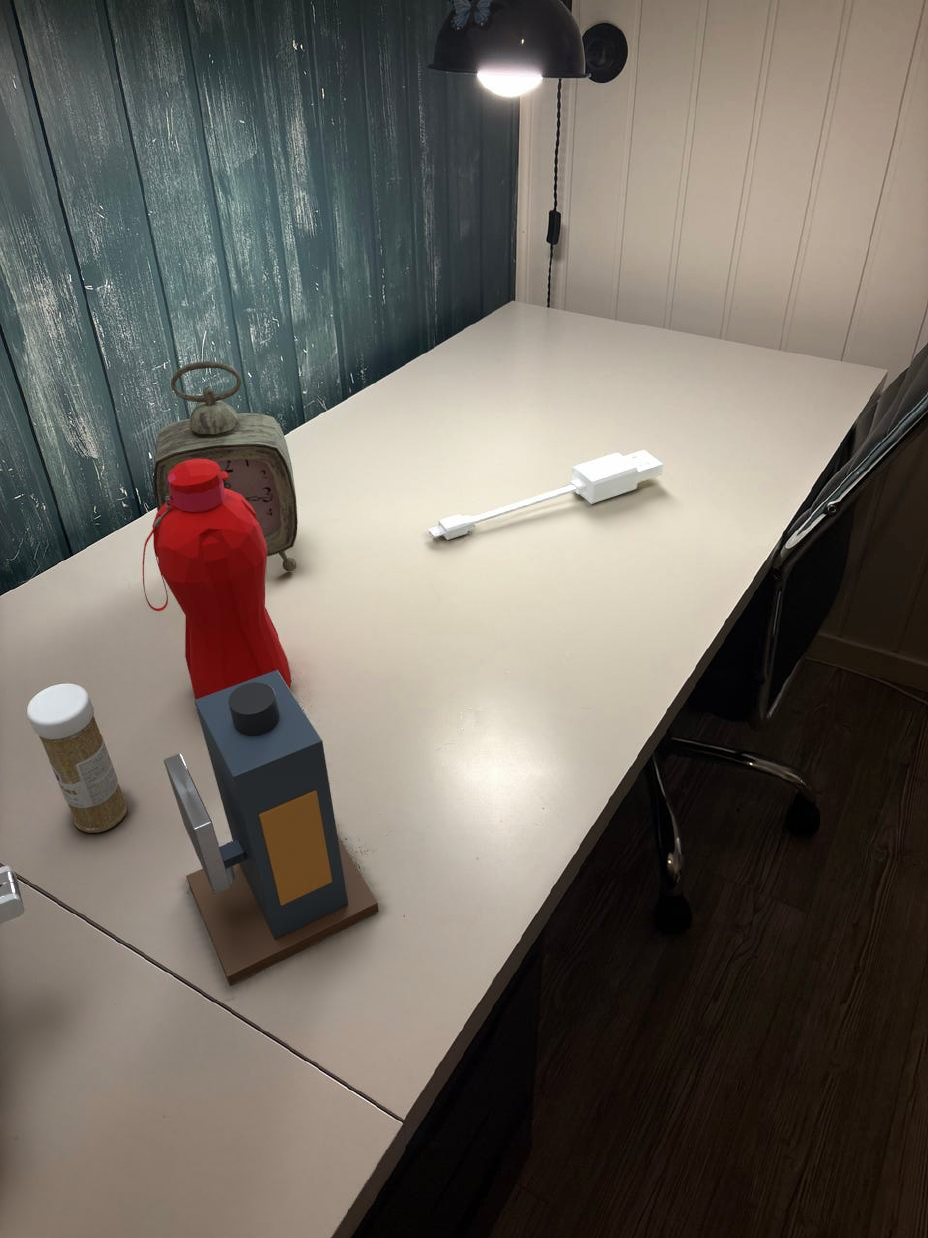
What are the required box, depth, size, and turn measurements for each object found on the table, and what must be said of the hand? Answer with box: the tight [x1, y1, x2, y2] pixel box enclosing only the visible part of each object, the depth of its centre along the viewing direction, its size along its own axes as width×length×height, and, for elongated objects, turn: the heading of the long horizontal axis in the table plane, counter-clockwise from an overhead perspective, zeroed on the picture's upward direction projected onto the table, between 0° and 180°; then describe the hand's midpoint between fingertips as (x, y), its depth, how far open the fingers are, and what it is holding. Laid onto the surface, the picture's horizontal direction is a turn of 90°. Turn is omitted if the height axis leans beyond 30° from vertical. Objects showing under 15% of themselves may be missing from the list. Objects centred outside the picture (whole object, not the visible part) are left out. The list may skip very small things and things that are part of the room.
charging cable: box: [427, 449, 664, 541], centre depth 116 cm, size 5×32×3 cm, turn 117°
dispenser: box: [185, 670, 380, 986], centre depth 65 cm, size 12×10×21 cm
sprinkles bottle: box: [26, 683, 128, 834], centre depth 75 cm, size 5×5×13 cm
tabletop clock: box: [152, 360, 299, 573], centre depth 100 cm, size 14×9×25 cm, turn 102°
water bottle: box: [142, 459, 293, 701], centre depth 83 cm, size 9×11×25 cm
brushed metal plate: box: [163, 753, 231, 894], centre depth 63 cm, size 1×7×7 cm, turn 30°
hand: (18, 888), depth 58 cm, fingers closed
